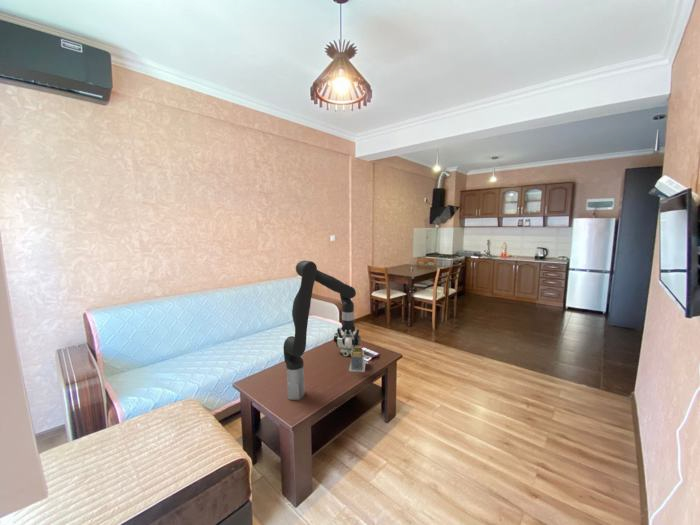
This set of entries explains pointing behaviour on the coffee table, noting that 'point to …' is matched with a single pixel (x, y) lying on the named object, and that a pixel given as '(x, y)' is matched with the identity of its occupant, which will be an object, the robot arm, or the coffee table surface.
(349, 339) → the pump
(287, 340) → the robot arm
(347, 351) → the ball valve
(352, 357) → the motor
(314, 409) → the coffee table surface
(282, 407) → the coffee table surface
